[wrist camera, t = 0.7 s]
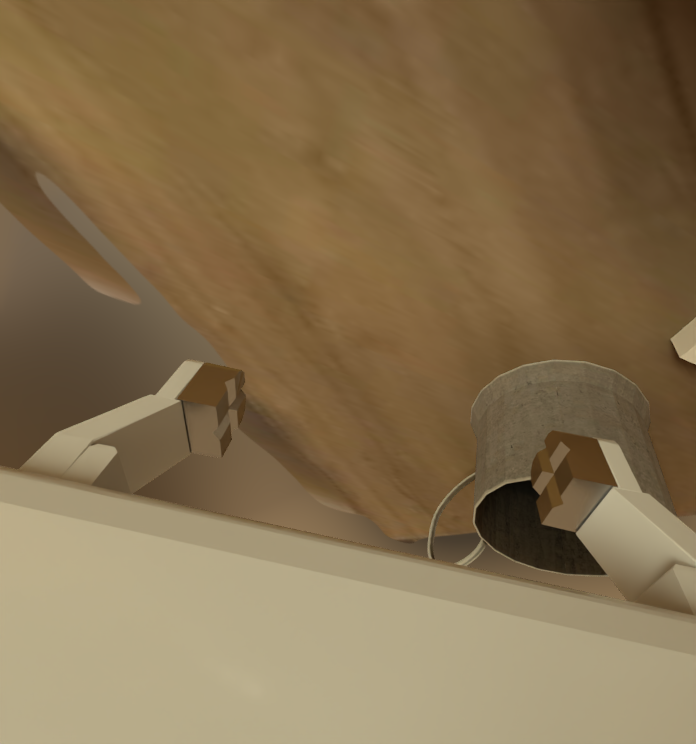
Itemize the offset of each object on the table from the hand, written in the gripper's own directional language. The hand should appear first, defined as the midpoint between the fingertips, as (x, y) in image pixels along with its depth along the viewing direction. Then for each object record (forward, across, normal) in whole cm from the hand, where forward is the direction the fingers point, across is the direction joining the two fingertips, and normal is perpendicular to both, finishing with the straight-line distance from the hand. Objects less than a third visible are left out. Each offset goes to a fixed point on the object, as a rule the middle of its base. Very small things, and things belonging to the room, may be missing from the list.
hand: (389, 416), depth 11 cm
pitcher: (+41, -24, +35) cm, 59 cm away
